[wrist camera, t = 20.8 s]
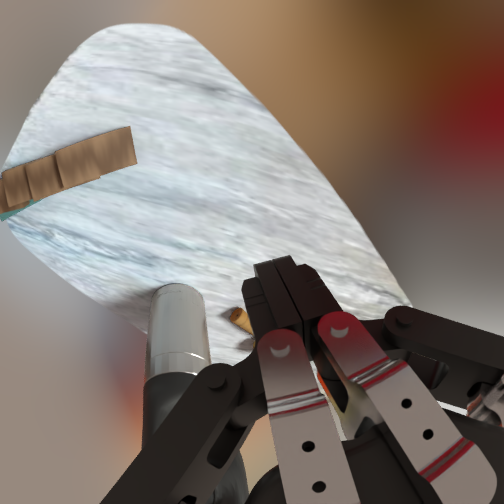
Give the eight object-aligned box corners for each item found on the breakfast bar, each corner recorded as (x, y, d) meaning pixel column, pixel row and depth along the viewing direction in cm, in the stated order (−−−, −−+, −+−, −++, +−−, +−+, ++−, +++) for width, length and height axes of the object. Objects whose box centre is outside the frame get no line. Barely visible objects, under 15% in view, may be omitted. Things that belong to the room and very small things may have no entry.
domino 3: (100, 178, 30) (34, 201, 26) (99, 175, 31) (36, 198, 27) (93, 141, 27) (25, 165, 23) (93, 140, 29) (28, 164, 24)
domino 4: (137, 163, 30) (64, 189, 26) (135, 162, 32) (65, 187, 28) (130, 126, 28) (54, 151, 24) (128, 126, 29) (56, 151, 25)
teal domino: (39, 200, 29) (1, 221, 28) (45, 196, 31) (7, 217, 30) (29, 170, 27) (-9, 194, 26) (34, 167, 28) (-3, 190, 27)
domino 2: (24, 207, 27) (-15, 218, 26) (30, 203, 29) (-10, 213, 27) (17, 174, 25) (-22, 188, 23) (23, 171, 26) (-16, 185, 25)
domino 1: (68, 188, 29) (8, 207, 25) (69, 185, 31) (11, 203, 26) (63, 152, 27) (1, 172, 22) (65, 151, 28) (5, 170, 23)
